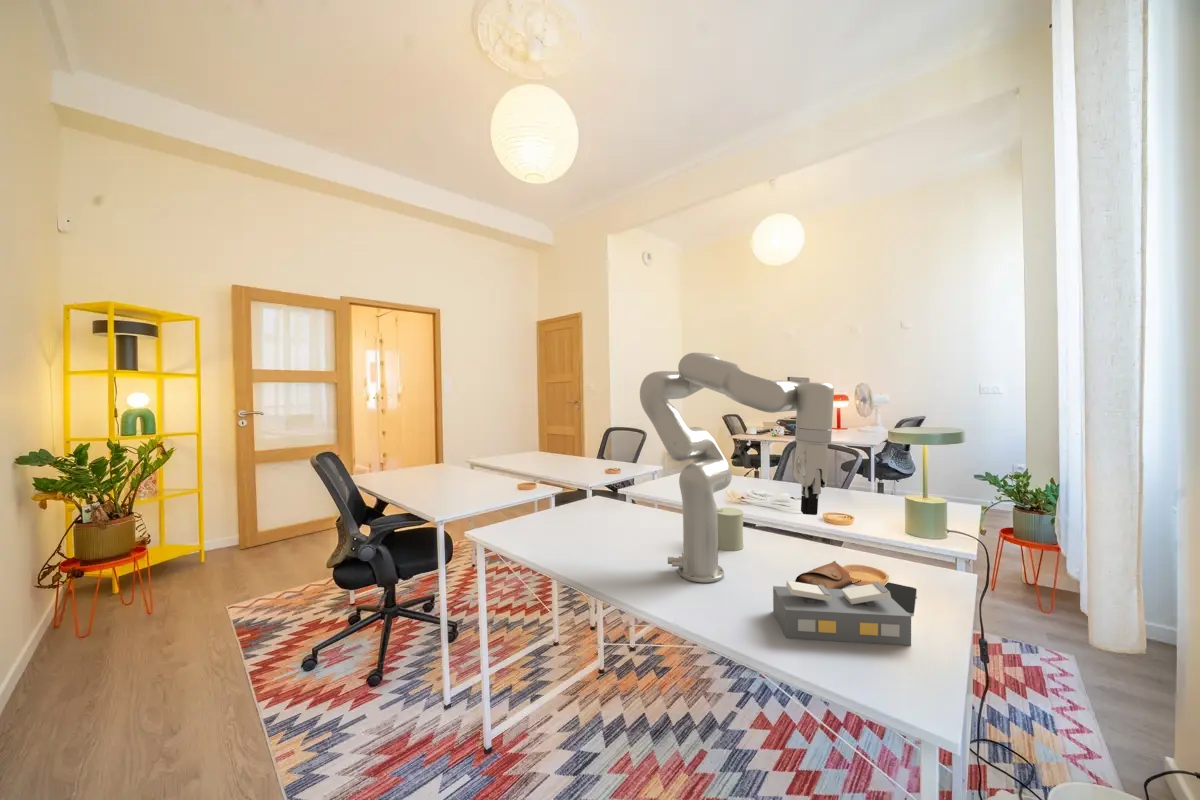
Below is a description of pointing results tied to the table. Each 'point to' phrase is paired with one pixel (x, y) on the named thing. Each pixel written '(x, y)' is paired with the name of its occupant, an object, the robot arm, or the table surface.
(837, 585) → the sunglasses case
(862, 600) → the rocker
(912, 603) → the smartphone
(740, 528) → the can
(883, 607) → the console
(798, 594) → the rocker
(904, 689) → the table surface
